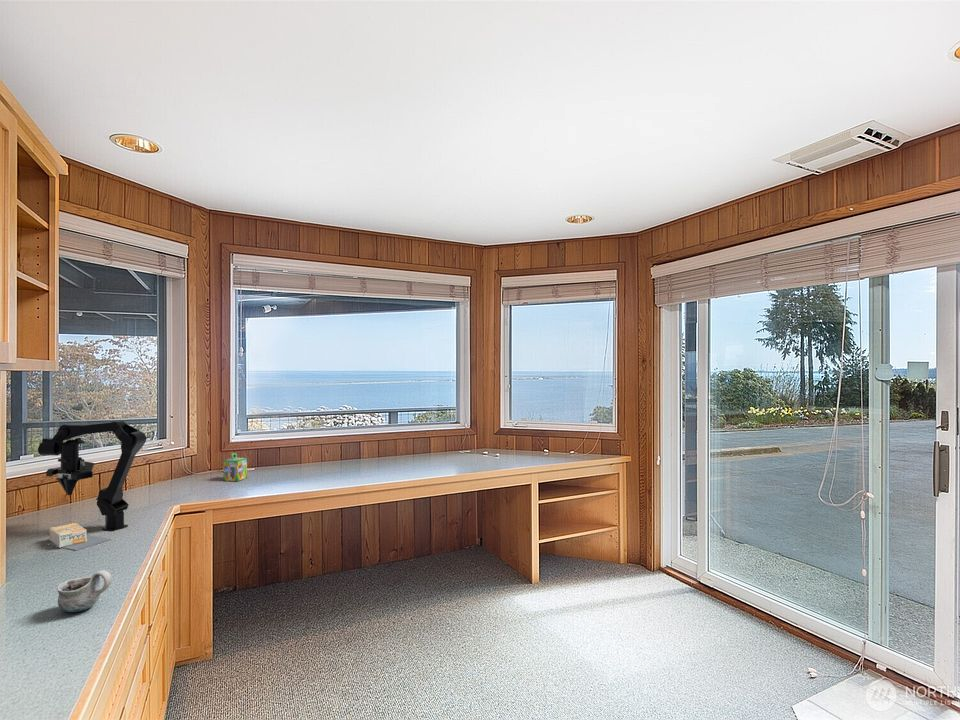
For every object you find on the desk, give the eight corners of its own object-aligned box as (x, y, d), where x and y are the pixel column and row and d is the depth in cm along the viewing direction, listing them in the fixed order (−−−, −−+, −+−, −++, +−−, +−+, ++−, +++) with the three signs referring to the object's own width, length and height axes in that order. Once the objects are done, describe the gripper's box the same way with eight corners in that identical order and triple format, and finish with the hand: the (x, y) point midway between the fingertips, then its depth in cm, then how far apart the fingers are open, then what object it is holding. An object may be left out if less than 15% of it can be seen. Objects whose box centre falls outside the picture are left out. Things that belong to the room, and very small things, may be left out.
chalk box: (237, 481, 294) (237, 454, 294) (222, 481, 295) (222, 454, 295) (247, 478, 303) (247, 451, 303) (233, 477, 305) (233, 451, 304)
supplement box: (75, 521, 205) (87, 528, 197) (75, 534, 205) (87, 542, 197) (48, 527, 199) (59, 534, 191) (48, 540, 199) (59, 548, 191)
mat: (110, 540, 200) (110, 539, 200) (76, 550, 189) (76, 549, 189) (83, 534, 206) (83, 533, 206) (47, 544, 195) (47, 543, 195)
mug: (68, 603, 148) (68, 566, 148) (119, 598, 152) (119, 562, 152) (49, 619, 139) (49, 580, 139) (105, 613, 142) (104, 575, 142)
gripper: (106, 453, 218) (106, 492, 218) (74, 450, 224) (74, 488, 224) (77, 458, 208) (77, 499, 208) (45, 455, 214) (45, 494, 214)
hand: (69, 495), depth 214 cm, fingers closed
